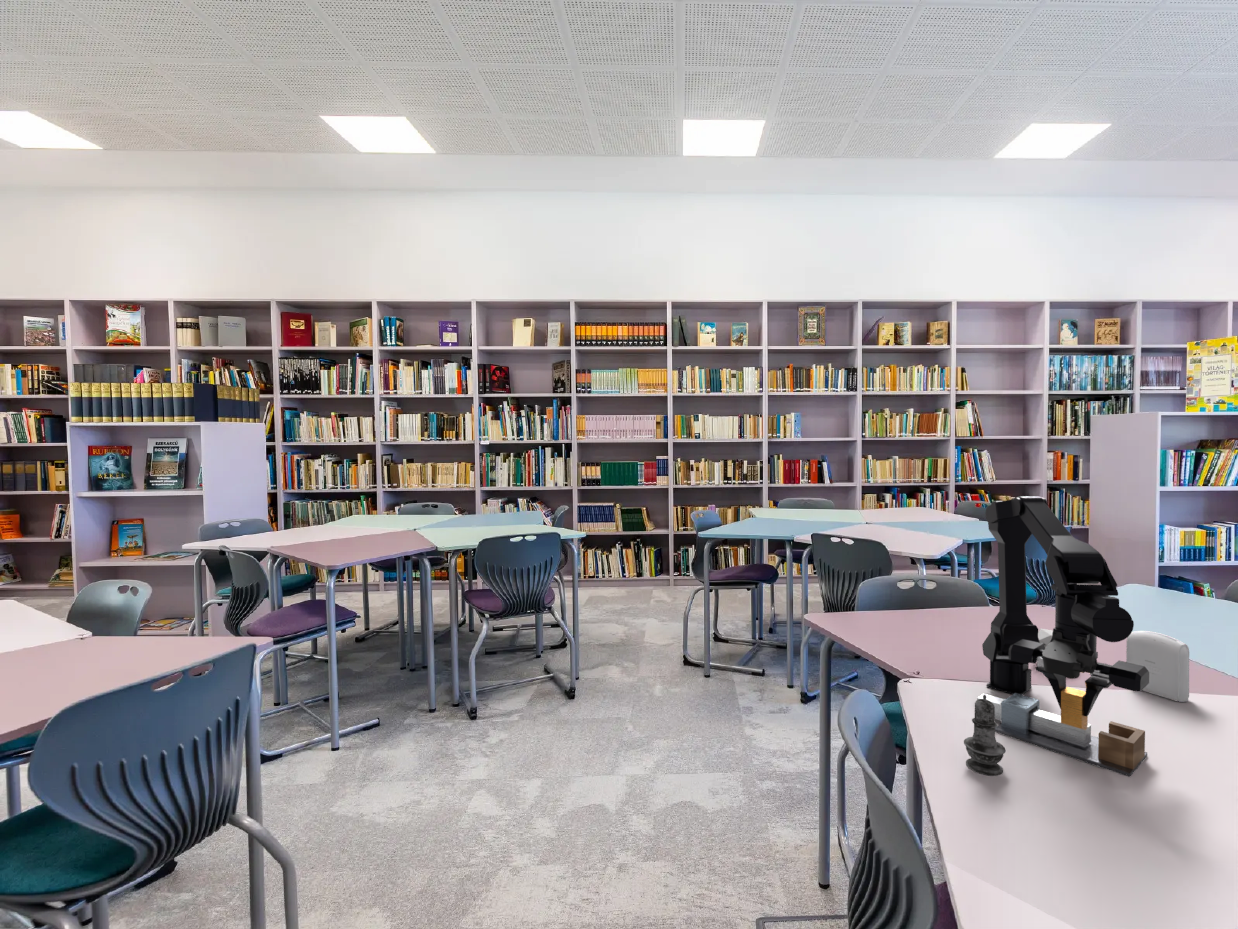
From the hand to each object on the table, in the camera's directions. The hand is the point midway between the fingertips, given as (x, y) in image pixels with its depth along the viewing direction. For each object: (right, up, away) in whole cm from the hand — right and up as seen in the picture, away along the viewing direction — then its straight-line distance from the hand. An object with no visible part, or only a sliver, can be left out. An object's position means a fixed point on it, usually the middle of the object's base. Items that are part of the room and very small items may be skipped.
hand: (1074, 712), depth 106 cm
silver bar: (-4, -5, +5) cm, 8 cm away
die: (+22, -4, +37) cm, 43 cm away
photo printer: (+32, -5, +21) cm, 39 cm away
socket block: (+4, -6, -5) cm, 9 cm away
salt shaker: (-19, -7, -6) cm, 21 cm away
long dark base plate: (-1, -6, +1) cm, 6 cm away
